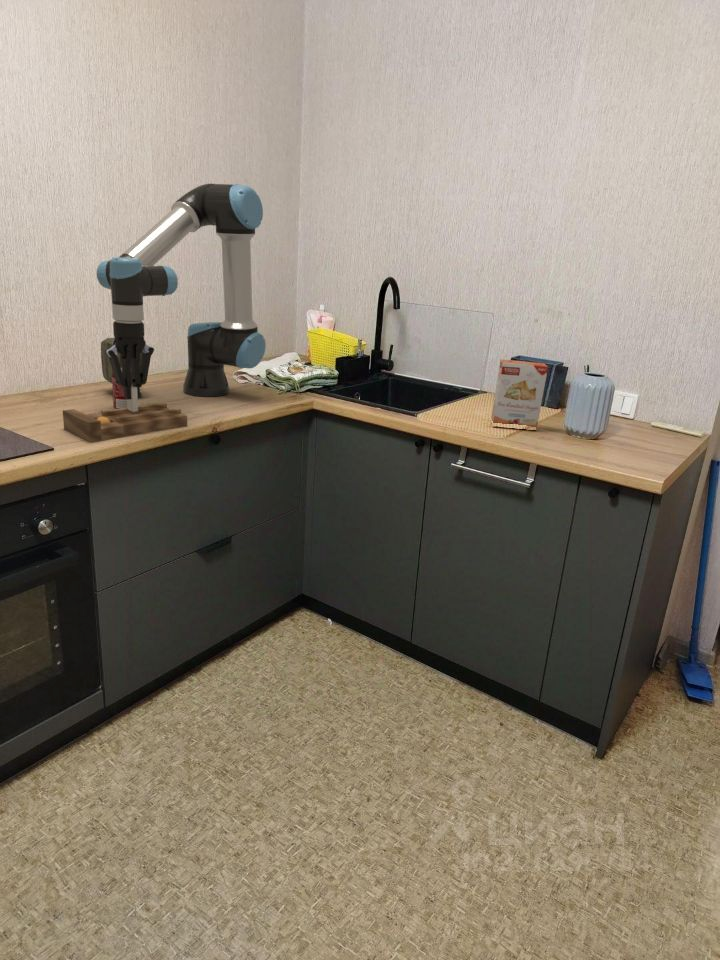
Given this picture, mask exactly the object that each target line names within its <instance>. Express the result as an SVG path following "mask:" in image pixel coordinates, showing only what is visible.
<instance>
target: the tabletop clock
mask: <svg viewBox="0 0 720 960" xmlns="http://www.w3.org/2000/svg"><path fill="white" fill-rule="evenodd" d="M114 339H115V338H114V337H107V338H105V339H103V340H102V341H101V342H100V360H101V372H102V377H103V378H104V380H106V381H107V382H108V383H111V384H112V374H113V370H112V367H111V363H110V360H109V357H108V356H107V355H106V353H105V350H106V349H110V348H111V347H112V346H113V342H114ZM116 352H117V351H116ZM142 353H143V351H142V352H141V354H140V364H141V358H142ZM116 356H117V358H118V360H119V364H120V367H121V368H122V361H121V359H120V354H119V353H118V352H117V355H116ZM143 385H145V384H142V386H143ZM142 394H143V393H142V392H140V398H142V396H143V395H142Z"/></svg>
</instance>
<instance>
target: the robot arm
mask: <svg viewBox="0 0 720 960" xmlns="http://www.w3.org/2000/svg"><path fill="white" fill-rule="evenodd" d="M263 209H264V208H263V203H262V201H261V198H260V195H258V194H257V191H256V190H255V189H253V188H252V187H250V186H248V185H243V184H223V183H205V184H201V185H199V186H196V187H195V188H193V189H191V190H190V191H188V192H186V193H185V194H183V195H182V196H181V197H180V198H178V199H177V200H176V201H175V202H173V204H172V205H171V208H170V211H169V212H168V213H166V215H165V216H164V217H162V218H161V219H160V220H159V221H158V222H157V223H155V224H154V225H153V226H152V227H151V228H150V229H149V230H148V231H147V232H145V233H144V235H142V236H141V237H140V238H139V239H138V240H137V241H135V243H133V244H132V245H131V246H130V247H128V249H126V250H125V251H124V252H123V253H122V254H121V255H120V256H116V257H112V258H110V259H109V260H104V261H101V262H100V263H99V265H97V268H96V278H97V281H98V283H99V284H100V285H101V287H103V288H105V289H108V290H110V293H111V310H112V319H113V320H114V321H113V323H112V327H113V329H112V330H113V331H112V332H113V338H115V339H114V342H113V346H112V347H111V348H110V349H106V350H105V353H106V355H107V356H108V357H109V360H110V363H111V367H112V370H113V373H114V377H115V380H116V383H117V384H118V385H121V386H123V387H124V397H125V399H127V402H128V410H130V411H132V412H136V411H138V406H139V401H138V399H140V398H141V397H140V393H141V388H142V387H143V385H142V384H144V385H146V384H147V381H148V376H149V370H150V363H151V359H152V355H153V354H154V351H155V348H154V347H153V346H149V345H147V344H146V340H145V324H144V322H143V321H144V320H145V317H144V297H155V296H162V297H164V296H170V295H173V293H175V292H176V290H177V288H178V283H179V281H178V280H179V279H178V275H177V273H176V272H175V270H174V269H173V268H172V267H170V266H167V265H166V266H165V265H156V264H157V263H158V262H159V261H160V260H162V259H163V257H164V256H166V255H167V254H168V253H169V252H170V251H172V249H173V248H175V247H176V245H178V244H179V243H180V242H181V241H182V240H183V239H184V238H185V237H187V235H188V234H190V233H195V232H197V231H198V230H199V229H200V228H202V227H207V226H214V227H215V233H216V235H217V236H218V237H219V238H220V239H221V256H222V257H221V258H222V278H223V280H222V281H223V302H224V320H223V321H222V322H221V321H220V322H219V321H218V322H217V321H216V322H214V321H213V322H209V321H208V322H197V323H191V324H189V326H188V328H187V329H188V330H187V338H186V339H187V361H188V363H187V364H188V365H187V366H188V368H187V372H186V375H185V379H184V382H183V385H182V386H183V387H182V388H183V389H182V390H183V392H184V393H185V394H187V395H191V396H196V397H197V396H198V397H220V396H221V397H222V396H226V395H228V394H229V392H230V385H229V383H228V379H227V376H226V372H225V366H231V367H234V368H238V369H239V368H240V369H253V368H256V367H257V366H258V365H259V364H260V363H261V360H262V359H263V358H264V355H265V353H266V352H265V351H266V347H267V346H266V344H267V343H266V338H264V335H263V334H262V333H260V332H258V331H259V330H258V324H257V323H256V322H255V321H254V319H253V289H252V288H253V287H252V259H251V258H252V255H251V253H252V250H251V240H252V239H253V238H254V236H256V229H257V228H258V227H260V226H261V223H262V220H263V217H264V210H263ZM116 351H117V352H118V353H119V354H120V359H121V361H122V371H121V367H120V364H119V360H118V358H117V356H116V355H117V352H116ZM142 351H143V353H142V358H141V364H140V354H141V352H142ZM131 378H132V382H131ZM132 385H133V386H132Z"/></svg>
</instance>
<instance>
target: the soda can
mask: <svg viewBox="0 0 720 960" xmlns="http://www.w3.org/2000/svg"><path fill="white" fill-rule="evenodd" d="M121 371H122V368H121ZM131 382H132V378H131ZM111 385H112V402H113V403H112V405H113V410H115V409H123V408H128V402H127V399H125V397H124V387H123V386H121V385H118V384H117V383H116V380H115V377H114V373H113V374H112V383H111ZM132 386H133V385H132Z"/></svg>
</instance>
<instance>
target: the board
mask: <svg viewBox="0 0 720 960" xmlns="http://www.w3.org/2000/svg"><path fill="white" fill-rule="evenodd" d="M99 417H106V418H108V419H109V420H110V422H111V423H105V424H101V421H99V420H97V418H99ZM62 420H63V430H65V431H67V432H69V433H71V434H73V435H74V436H77V437H79V438H80V439H83V440H84V441H86V442H88V443H95V442H100V441H105V440H106V441H107V440H111V439H112V440H113V439H117V438H123V437H124V438H125V437H130V435H131V436H135V435H136V434H137V435H142V433H143V434H148V433H153V432H159V431H165V430H171V429H177V428H184V427H188V415H187V414H184V413H182V408H180V407H178V408H177V407H176V408H172V409H171V408H168V403H166V402H161V403H154V404H146V405H138V411H136V412H132V411H130V410H128V408H123V409H111V410H110V409H108V410H101V411H100V412H98V413H90V414H86V413H84V412H81V411H79V410H77V409H75V408H72V409H63V410H62Z"/></svg>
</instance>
